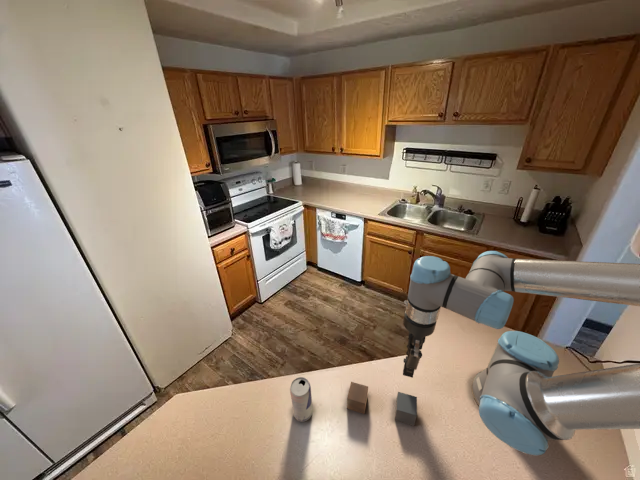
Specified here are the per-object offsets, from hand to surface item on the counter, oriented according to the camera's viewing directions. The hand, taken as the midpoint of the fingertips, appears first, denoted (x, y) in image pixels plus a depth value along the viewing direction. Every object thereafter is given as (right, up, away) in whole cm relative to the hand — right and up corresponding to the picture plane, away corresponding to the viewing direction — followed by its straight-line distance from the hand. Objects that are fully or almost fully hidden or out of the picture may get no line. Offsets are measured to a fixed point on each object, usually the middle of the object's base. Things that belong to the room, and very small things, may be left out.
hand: (407, 374), depth 75 cm
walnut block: (-15, -8, -1) cm, 17 cm away
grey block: (-2, -9, -4) cm, 10 cm away
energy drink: (-30, -10, -2) cm, 32 cm away
